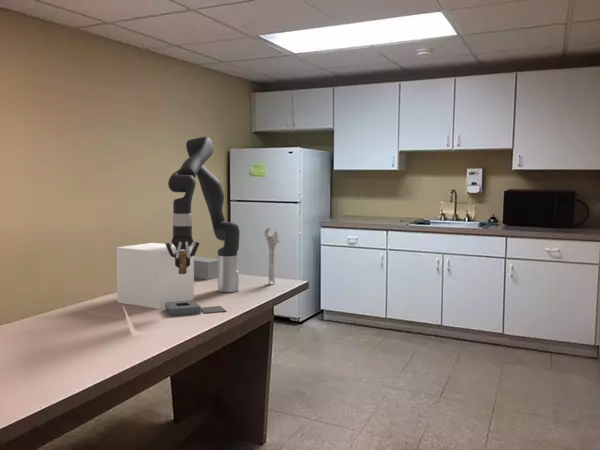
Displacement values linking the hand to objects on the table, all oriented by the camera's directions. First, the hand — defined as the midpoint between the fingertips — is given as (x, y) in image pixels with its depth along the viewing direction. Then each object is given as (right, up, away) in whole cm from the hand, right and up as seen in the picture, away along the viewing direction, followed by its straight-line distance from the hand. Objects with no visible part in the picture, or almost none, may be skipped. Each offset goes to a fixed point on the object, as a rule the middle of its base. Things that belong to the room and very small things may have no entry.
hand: (182, 266), depth 212 cm
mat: (+12, -18, +5) cm, 22 cm away
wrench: (+33, -15, +56) cm, 67 cm away
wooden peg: (0, -3, 0) cm, 3 cm away
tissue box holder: (-4, -12, +81) cm, 82 cm away
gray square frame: (0, -18, +1) cm, 18 cm away
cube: (-16, -17, +21) cm, 32 cm away
